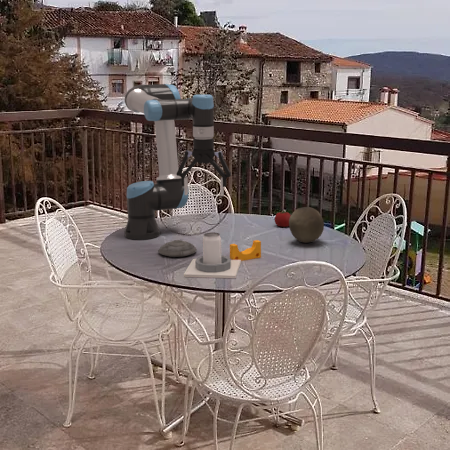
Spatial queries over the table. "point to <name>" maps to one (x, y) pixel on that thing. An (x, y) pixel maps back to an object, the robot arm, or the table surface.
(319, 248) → the table surface
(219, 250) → the can
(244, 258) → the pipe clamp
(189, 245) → the grey stepped dome
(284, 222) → the tomato
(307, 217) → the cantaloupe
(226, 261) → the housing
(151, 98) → the robot arm
